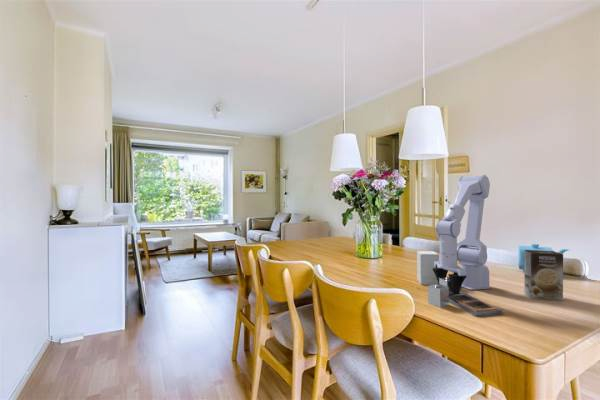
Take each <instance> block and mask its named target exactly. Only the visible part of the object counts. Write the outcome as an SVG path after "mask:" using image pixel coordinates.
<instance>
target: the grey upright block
mask: <svg viewBox="0 0 600 400" xmlns="http://www.w3.org/2000/svg"><path fill="white" fill-rule="evenodd" d="M427 301H428V302H427V304H428V305H432V306H435V307H437V308H440V309H441V308H444V307H446V306H449V305H450V302H449V287H446V286H443V285H441V284H434V285H427Z"/></svg>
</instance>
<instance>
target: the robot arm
mask: <svg viewBox="0 0 600 400" xmlns="http://www.w3.org/2000/svg"><path fill="white" fill-rule="evenodd" d="M456 184H457V185H456V186H457V189H458V191H457V195H456V197H455V200H454V202H453V204H450V205H449V206H448V208H447V210H446V213H445V214H444V216H443V217H442V219H441V220H440V221H438V222H437V223H436V227H435V233H436V235H437V240H438V241H439V261H434V266H435V267H436V268H433V271H434V273H435V275H436V278H437V281H438V284H439V278H444V277H449V278H450V281H451V285H452V293H453V294H459V293H460V291H461V288H465V289H467V290H468V291H469V290H470V291H471V290H473V291H474V290H484V289H485V290H486V289H487V290H488V289H492V287H491V286H490V270H489V267H488V266H487V265H486V263H487V260H488V251H487V250H488V249H487V248H488V247H487V246H486V244H484V243H483V242H482V241H481V240H480V239H481V232H482V221H483V214H484V206H485V205H484V204H485V199H487V198H489V195H490V194H489V193H490V188H491V187H490V185H491V183H490V179H489V177H488V176H487V175H486V174H482V175H471V176H469V175H468V176H460V177H459V179H458V180H457V183H456ZM468 201H469V206H468V213H467V219H466V220H467V222H466V229H465V236H464V239H462V240H460V241H459V242H458V237H459V235H460V234H461V227H462V219H464V218H463V217H464V216H465V213H466V209H465V206H466V204H467V203H468ZM458 264H460V266H458ZM448 272H450V273H448Z"/></svg>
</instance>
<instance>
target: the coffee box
mask: <svg viewBox="0 0 600 400" xmlns="http://www.w3.org/2000/svg"><path fill="white" fill-rule="evenodd" d="M558 252H559V251H558ZM558 252H557V251H554V250H553V251H537V250H525V270H524V271H525V273H524V283H523V285H524V288H523V289H524V292H523V293H524V294H525V295H526V296H527V297H528V298H530V299H531V300H532V299H533V300H541V301H542V300H544V301H555V302H563V301H564V253H563V254H561V253H558Z"/></svg>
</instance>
